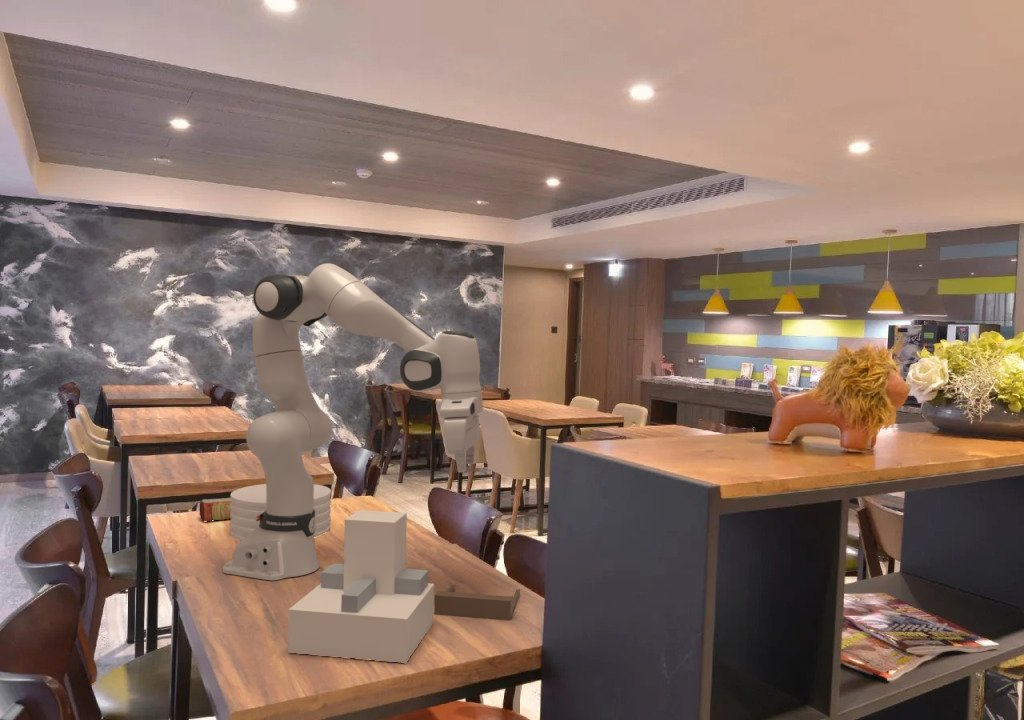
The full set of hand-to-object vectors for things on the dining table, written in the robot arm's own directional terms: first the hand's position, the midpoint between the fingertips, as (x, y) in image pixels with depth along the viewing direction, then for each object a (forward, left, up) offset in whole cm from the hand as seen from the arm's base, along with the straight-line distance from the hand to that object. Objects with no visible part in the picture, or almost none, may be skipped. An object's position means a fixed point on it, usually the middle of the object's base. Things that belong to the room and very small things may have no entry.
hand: (466, 467), depth 160 cm
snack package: (-84, +56, -30) cm, 105 cm away
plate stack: (-64, +45, -30) cm, 84 cm away
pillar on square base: (-14, -24, -29) cm, 40 cm away
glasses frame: (+4, -2, -29) cm, 30 cm away
